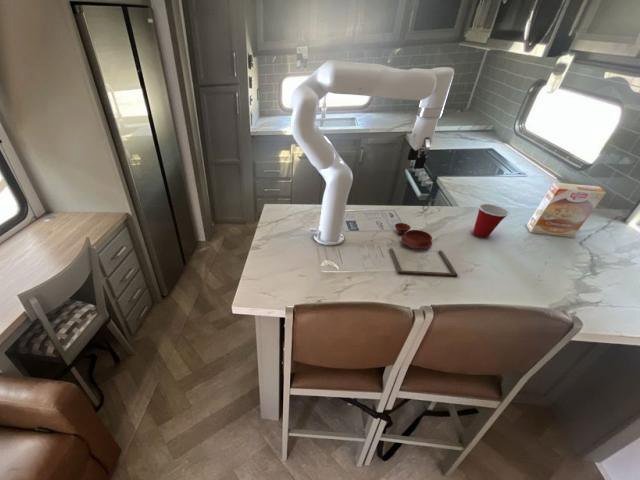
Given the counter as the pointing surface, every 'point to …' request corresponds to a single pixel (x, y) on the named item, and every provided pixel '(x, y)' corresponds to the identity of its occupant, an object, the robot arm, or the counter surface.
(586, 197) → the coffeecake box
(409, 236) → the pottery
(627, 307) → the counter surface
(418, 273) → the frame
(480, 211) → the plastic cup
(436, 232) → the counter surface
